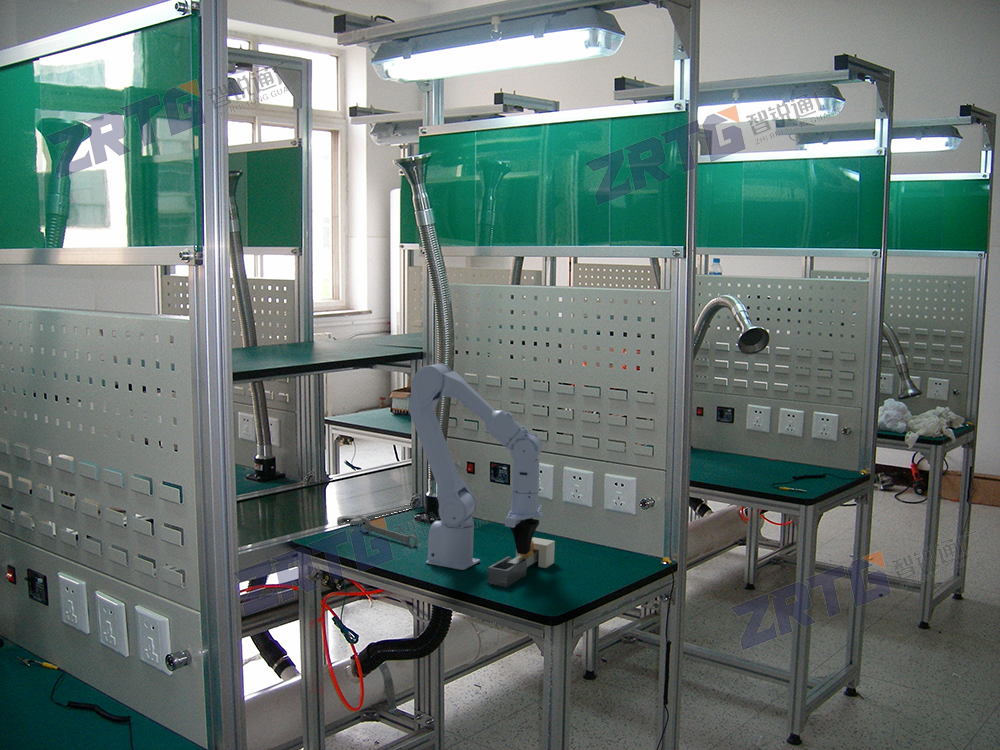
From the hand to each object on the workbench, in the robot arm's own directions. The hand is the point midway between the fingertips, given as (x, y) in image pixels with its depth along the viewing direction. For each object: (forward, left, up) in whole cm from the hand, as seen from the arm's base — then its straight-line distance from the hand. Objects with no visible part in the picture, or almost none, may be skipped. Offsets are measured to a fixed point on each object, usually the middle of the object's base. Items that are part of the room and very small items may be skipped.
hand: (522, 553), depth 197 cm
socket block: (0, +7, -4) cm, 8 cm away
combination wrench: (-38, +5, -4) cm, 39 cm away
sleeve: (0, -7, -4) cm, 8 cm away
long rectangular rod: (0, +1, -3) cm, 3 cm away
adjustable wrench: (-51, +21, -4) cm, 56 cm away
